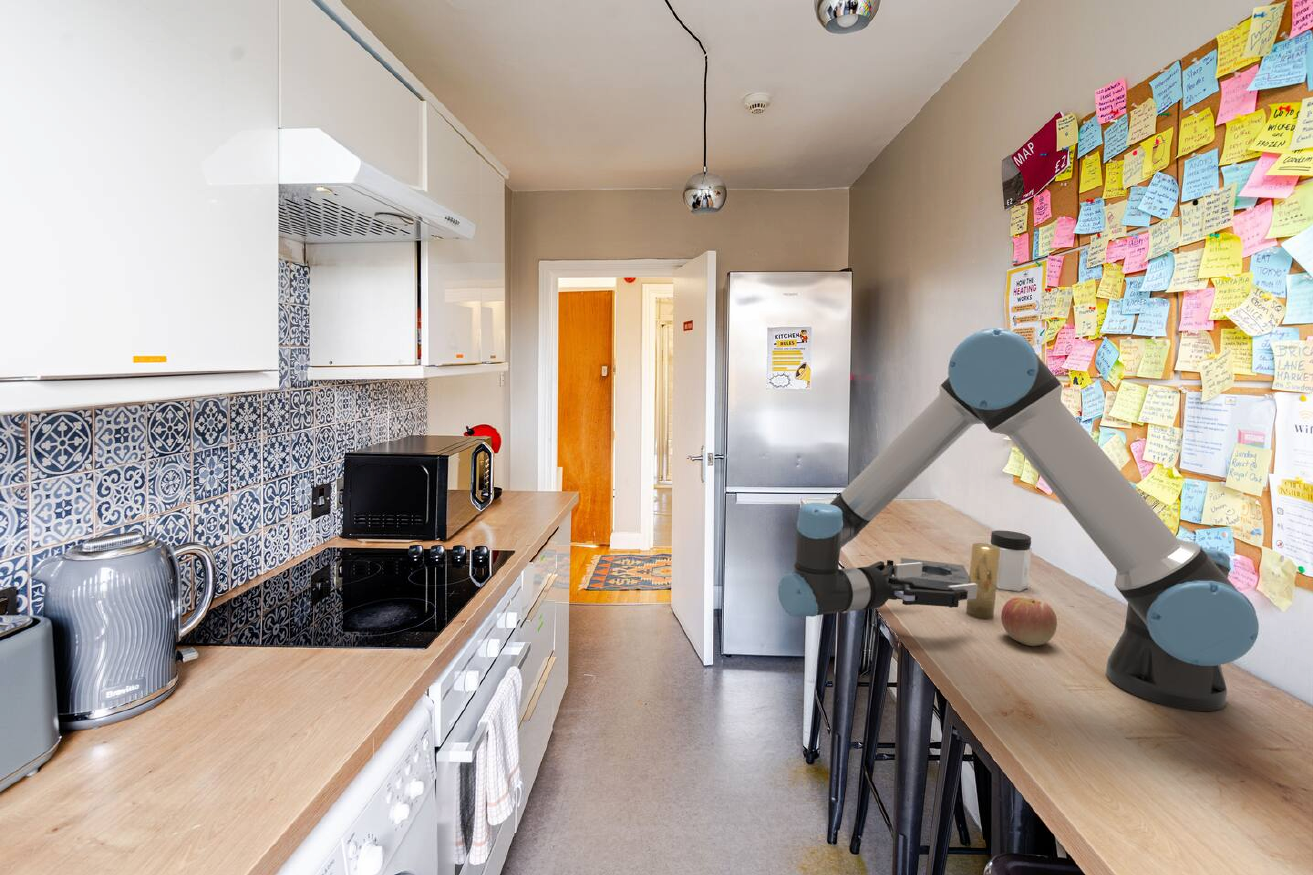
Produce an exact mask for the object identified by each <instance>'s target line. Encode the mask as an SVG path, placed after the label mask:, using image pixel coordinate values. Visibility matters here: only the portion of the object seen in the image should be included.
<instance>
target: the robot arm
mask: <svg viewBox="0 0 1313 875" xmlns="http://www.w3.org/2000/svg"><path fill="white" fill-rule="evenodd" d="M947 369H948V370H947V371H948V372H947V375H948V376H947V378H946V379H945V380H944V381H943V382H942V383H941V384H940V385H939V395H938V396H936V397H935V399H934V400H933V401H931V402H930V404H928V406H927V407H925V408H924V409H923V410H922V411H921V412H920V413H919V414H918V416H916V417H915V418H914V420H913V421H911V422H910V423H909V424H908V426H906V427H905V429H903V430H902V431H901V433H900V434H898V435H897V437H896V438H894V440H892V441H891V442H890V443H889V444H888V445H887V446H886V447H885V449H883V450H882V452H880V453H879V454H878V455H877V456H876V457H875V458H874V459H873V460H872V461H871V463H869V464H868V465H867V466H866V467H865V468H864V469H863V470H862V471H861V472H860V473H859V474H858V475H857V476H856V477H855V478H854V479H853V480H852V481H851V482H850V483H849V484H848V485H847V486H846V487H845V488H844V489H843V490H842V491H841V492H840V494H838V495H836V497H835V498H834V499H833V500H832V501H831V502H830V503H822V502H810V503H808V502H807V503H803V504H802V505H801V506H800V507H799V510H798V516H797V517H798V518H797V521H796V542H795V543H796V545H795V558H794V566H793V572H792V571H791V572H790V573H786V574H784V575H783V576H782V577H781V579H780V582H779V583H778V586H777V595H778V600H779V603H780V604H779V605H780V606H781V608H782V609H783V610H784V612H786V614H788V615H789V616H792V617H794V618H796V617H797V618H799V617H801V618H802V617H813V618H814V617H816V616H822V615H828V614H829V615H830V614H836V613H837V614H838V613H842V614H847V612H854V611H861V610H874V609H880V608H882V607H883V606H884V605H886V603H887V601H888V600H891V601H894V600H895V601H896V600H902V605H904V606H917V605H918V606H933V607H948V608H959V605H960V604H959V602H960V601H967V600H969V599H976V595H977V586H978V584H975V583H971V584H962V585H953V586H948V588H943V587H936V586H928V585H921V584H914V583H913V581H911V580H903V579H901V578H908V577H918V576H921V574H922V563H921V562H916V563H905V564H900V563H896V564H894V560H893V559H890V560H889V559H887V560H886V564H885V562H884V561H883V560H881V561H877V562H874V563H873V564H870V565H869V566H862V567H861V566H859V567H849V568H848V567H847V568H839V567H840V566H839V565H840V555H841V549H842V548H843V547H844V546H846V545H847V544H848V543H849V542H851V541H852V540H854V539H855V538H856V537H858V535H859V534H860V532H861V531H862V530H863V529H864V528H866V527H867V526H868V525H869V524H870V522H871V521H873V520H874V519H875V517H877V516H878V515H879V514H880V513H881V512H882V511H883V510H884V509H885V508H886V507H887V506H888V505H890V503H891V502H893V501H894V500H895V499H896V498H897V497H898V496H899V495H900V494H902V492H903V491H904V490H906V488H908V487H909V485H912V483H913V482H914V481H915V480H916V479H917V478H918V477H919V476H920V475H922V473H924V471H926V469H928V468H929V467H930V466H931V465H932V464H933V463H934V462H936V460H938V458H940V457H941V456H942V455H943V453H945V452H946V451H947V450H948V449H949V448H950V447H951V446H952V445H953V444H954V443H956V441H957V440H959V438H961V437H962V436H963V435H964V434H965V433H966V432H967V431H968V430H970V428H971V427H972V426H973V425H979V424H980V425H981V424H982V425H983V424H984V425H985V427H987V429H988V430H989V431H990V432H991V433H993V434H994V433H995V434H999V435H1000V434H1001V435H1005V436H1006V437H1008V438H1009V440H1011V441H1012V443H1013V445H1015V447H1016V448H1017V449H1018V451H1019V452H1020V453H1021V454H1022V455H1023V457H1024V458H1025V459H1026V460H1027V462H1029V464H1030V465H1031V466H1032V468H1033V469H1034V470H1035V472H1037V474H1038V475H1039V476H1040V477H1041V478H1042V480H1043V481H1044V482H1045V484H1046V485H1047V486H1048V487H1049V489H1050V490H1051V491H1052V493H1054V495H1055V496H1056V498H1058V500H1059V501H1060V502H1061V503H1062V504H1063V506H1064V507H1065V508H1066V510H1068V512H1069V513H1070V515H1071V516H1072V517H1073V518H1074V520H1076V522H1077V523H1078V524H1079V525H1080V527H1081V528H1082V529H1083V530H1084V532H1085V533H1086V534H1087V535H1088V536H1089V538H1090V539H1091V540H1092V541H1093V543H1094V544H1095V545H1096V547H1098V549H1099V550H1100V552H1102V554H1103V555H1104V556H1105V558H1106V559H1107V560H1108V561H1109V562H1110V564H1111V565H1112V567H1114V569H1116V575H1115V581H1114V586H1115V588H1116V590H1118V592H1119V593H1120V595H1122V597H1123V598H1124V599H1125V600H1126V602H1127V607H1126V616H1125V623H1124V624H1125V625H1124V629H1123V633H1122V634H1121V636H1120V637H1119V639H1118V641H1117V643H1116V645H1115V646H1114V648H1113V650H1112V651H1111V654H1110V655H1109V656H1108V659H1107V662H1106V670H1105V675H1106V677H1107V679H1109V681H1110V682H1112V684H1114V685H1116V686H1117V687H1118V688H1120V689H1122V690H1123V691H1126V692H1127V693H1130V694H1132V695H1134V696H1137V697H1138V698H1139V697H1140V698H1142V699H1145V700H1147V701H1151V702H1153V703H1157V704H1160V705H1164V706H1168V707H1171V708H1172V707H1173V708H1177V709H1181V710H1189V711H1196V712H1198V711H1199V712H1212V711H1214V712H1215V711H1218V710H1221V709H1223V708H1224V707H1225V706H1226V701H1227V694H1228V690H1227V684H1226V681H1225V677H1224V673H1223V669H1222V666H1223V665H1226V664H1229V663H1233V662H1234V661H1236V660H1239V659H1240V658H1242V657H1243V656H1245V655H1246V654H1247V653H1248V652H1249V651H1250V650H1251V649H1252V648H1253V647H1254V644H1255V643H1256V641H1257V639H1258V636H1259V631H1260V630H1259V629H1260V628H1259V627H1260V625H1259V624H1260V623H1259V620H1258V618H1259V617H1258V616H1257V611H1256V608H1255V607H1254V605H1253V603H1252V602H1251V600H1249V598H1248V597H1247V596H1246V595H1245V594H1244V593H1243V592H1241V591H1240V590H1238V589H1237V588H1236V587H1235V585H1234V584H1233V583H1232V581H1230V580H1229V572H1231V570H1232V569H1231V568H1232V567H1231V566H1230V565H1231V564H1230V561H1231V560H1230V558H1231V557H1230V556H1229V554H1227V553H1226V552H1224V551H1222V550H1217V549H1212V548H1207V547H1203V546H1200V545H1199V544H1198V543H1197V542H1192V541H1188V540H1183V539H1179V538H1178V537H1177V536H1176V535H1175V534H1174V533H1173V532H1172V530H1171V529H1170V528H1169V527H1168V526H1167V525H1166V523H1165V522H1164V521H1163V520H1162V518H1160V516H1159V515H1158V514H1157V513H1156V512H1155V511H1154V509H1153V508H1152V507H1151V506H1150V504H1148V502H1147V501H1146V500H1145V499H1144V497H1143V496H1142V495H1141V494H1140V493H1139V491H1138V490H1137V489H1136V488H1135V487H1134V486H1133V484H1132V483H1131V482H1130V481H1129V480H1128V478H1127V477H1126V476H1125V475H1124V474H1123V472H1122V471H1121V470H1120V469H1119V468H1118V467H1117V466H1116V465H1115V463H1114V462H1113V460H1111V458H1110V457H1109V456H1108V455H1107V453H1106V452H1105V451H1104V450H1103V449H1102V447H1101V446H1100V445H1099V444H1098V443H1097V442H1096V441H1095V440H1094V438H1093V437H1092V436H1091V435H1090V434H1089V432H1088V431H1087V430H1086V429H1085V428H1084V427H1083V425H1082V424H1081V423H1080V422H1079V420H1078V419H1077V418H1076V417H1075V416H1074V415H1073V413H1072V412H1071V411H1070V410H1069V409H1068V408H1067V406H1066V405H1065V404H1064V402H1062V393H1063V388H1064V386H1063V384H1062V382H1060V380H1059V379H1058V377H1056V376H1055V374H1054V373H1053V371H1051V370H1050V368H1049V367H1048V366H1047V365H1046V364H1045V363H1044V361H1043V360H1042V359H1041V358H1040V357H1039V356H1038V355H1037V353H1036V351H1035V349H1034V347H1033V345H1032V344H1031V343H1030V342H1029V341H1028V339H1027V338H1026V337H1024V336H1022V335H1021V334H1020V333H1018V332H1015V331H1012V330H1010V329H1006V328H1001V327H993V328H985V329H982V330H980V331H976V332H974V333H973V334H971V335H969V336H968V337H966V338H965V339H963V341H961V342H960V343H959V344H958V345H957V346H956V348H955V349H954V351H953V353H952V354H951V356H950V359H949V363H948V368H947ZM906 584H907V585H909V589H906ZM905 589H906V590H905Z"/></svg>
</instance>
